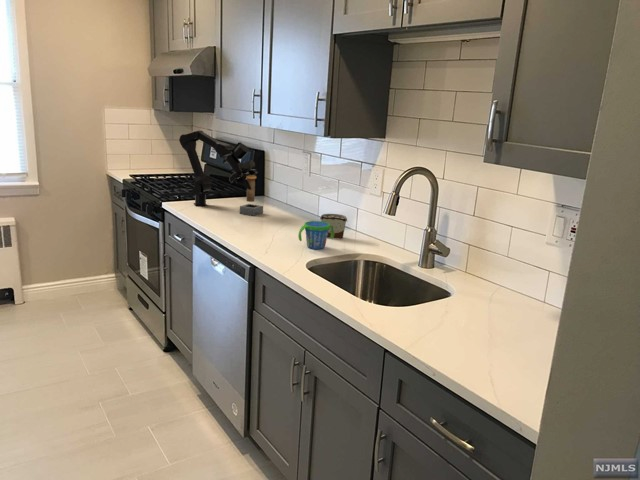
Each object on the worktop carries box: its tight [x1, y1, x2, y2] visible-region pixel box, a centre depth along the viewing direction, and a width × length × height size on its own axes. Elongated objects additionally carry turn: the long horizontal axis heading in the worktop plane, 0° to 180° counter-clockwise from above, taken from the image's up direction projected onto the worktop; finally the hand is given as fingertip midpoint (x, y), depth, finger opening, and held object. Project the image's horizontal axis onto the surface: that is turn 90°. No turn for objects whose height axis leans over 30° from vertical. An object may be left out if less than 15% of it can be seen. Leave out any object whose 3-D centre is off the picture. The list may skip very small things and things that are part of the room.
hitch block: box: [239, 203, 264, 217], centre depth 264 cm, size 9×9×4 cm
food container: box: [319, 213, 348, 240], centre depth 228 cm, size 12×6×10 cm, turn 84°
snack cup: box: [298, 220, 335, 250], centre depth 209 cm, size 16×10×10 cm
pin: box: [246, 175, 257, 203], centre depth 260 cm, size 5×5×13 cm
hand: (252, 188), depth 259 cm, fingers closed on pin, 4 cm apart
